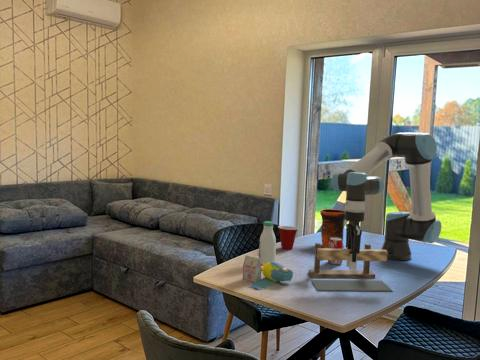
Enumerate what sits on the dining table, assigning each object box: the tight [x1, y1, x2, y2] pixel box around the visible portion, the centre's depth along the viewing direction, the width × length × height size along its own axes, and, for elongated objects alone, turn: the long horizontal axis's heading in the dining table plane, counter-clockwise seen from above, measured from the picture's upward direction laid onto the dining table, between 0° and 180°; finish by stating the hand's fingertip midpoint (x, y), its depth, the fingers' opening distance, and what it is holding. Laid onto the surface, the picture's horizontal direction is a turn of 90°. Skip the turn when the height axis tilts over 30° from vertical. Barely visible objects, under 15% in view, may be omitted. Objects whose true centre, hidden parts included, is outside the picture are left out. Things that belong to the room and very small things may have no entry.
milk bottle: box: [258, 220, 277, 266], centre depth 209 cm, size 8×8×20 cm
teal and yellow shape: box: [247, 260, 294, 291], centre depth 186 cm, size 28×9×15 cm
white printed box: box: [242, 255, 262, 284], centre depth 186 cm, size 4×7×10 cm, turn 52°
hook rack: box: [308, 242, 376, 279], centre depth 193 cm, size 28×10×14 cm, turn 93°
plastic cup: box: [277, 225, 299, 251], centre depth 238 cm, size 11×11×12 cm
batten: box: [317, 247, 388, 262], centre depth 180 cm, size 28×3×4 cm, turn 93°
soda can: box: [327, 237, 344, 265], centre depth 214 cm, size 7×7×12 cm
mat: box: [311, 279, 393, 293], centre depth 182 cm, size 30×12×1 cm, turn 93°
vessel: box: [319, 208, 346, 249], centre depth 246 cm, size 14×14×20 cm
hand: (351, 267), depth 181 cm, fingers closed on batten, 3 cm apart
